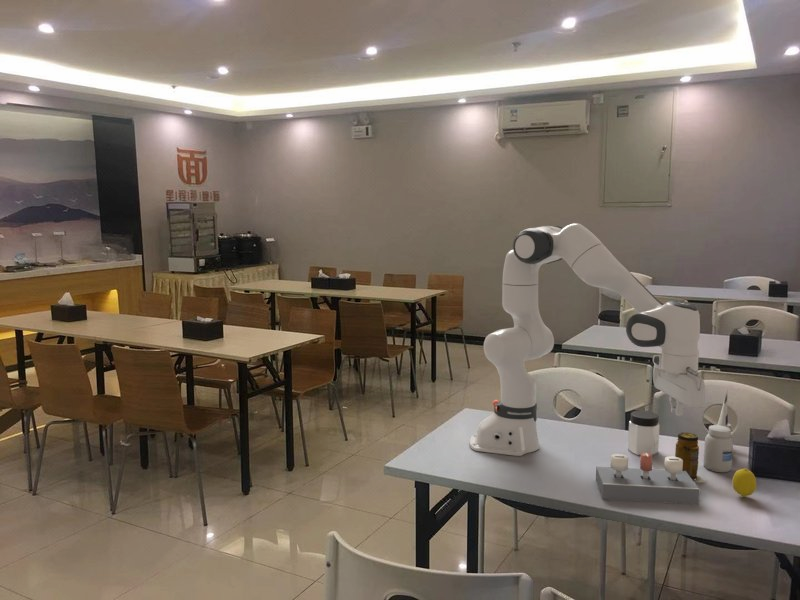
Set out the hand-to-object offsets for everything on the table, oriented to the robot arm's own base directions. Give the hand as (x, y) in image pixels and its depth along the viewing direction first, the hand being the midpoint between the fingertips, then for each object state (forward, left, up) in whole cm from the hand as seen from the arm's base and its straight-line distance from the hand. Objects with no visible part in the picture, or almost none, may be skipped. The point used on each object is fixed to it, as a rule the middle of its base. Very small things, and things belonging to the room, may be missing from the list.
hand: (676, 414), depth 169 cm
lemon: (+18, 0, -22) cm, 29 cm away
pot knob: (-7, 0, -20) cm, 21 cm away
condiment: (+7, +12, -22) cm, 26 cm away
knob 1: (-14, 0, -20) cm, 24 cm away
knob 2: (0, 0, -20) cm, 20 cm away
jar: (-1, +30, -22) cm, 37 cm away
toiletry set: (+21, +27, -22) cm, 41 cm away
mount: (-7, 0, -22) cm, 23 cm away
